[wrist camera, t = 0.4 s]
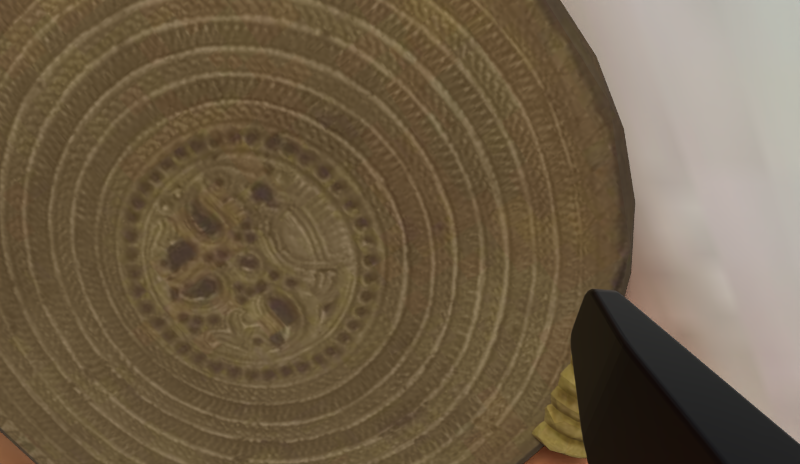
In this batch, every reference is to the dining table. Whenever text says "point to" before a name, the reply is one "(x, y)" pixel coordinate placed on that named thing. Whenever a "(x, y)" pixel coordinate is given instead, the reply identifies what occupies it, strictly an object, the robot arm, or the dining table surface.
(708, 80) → the dining table surface
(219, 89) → the decorative disc
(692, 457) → the robot arm
